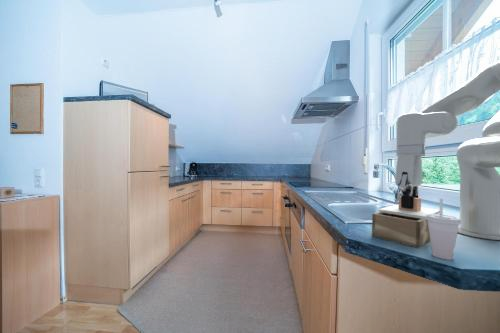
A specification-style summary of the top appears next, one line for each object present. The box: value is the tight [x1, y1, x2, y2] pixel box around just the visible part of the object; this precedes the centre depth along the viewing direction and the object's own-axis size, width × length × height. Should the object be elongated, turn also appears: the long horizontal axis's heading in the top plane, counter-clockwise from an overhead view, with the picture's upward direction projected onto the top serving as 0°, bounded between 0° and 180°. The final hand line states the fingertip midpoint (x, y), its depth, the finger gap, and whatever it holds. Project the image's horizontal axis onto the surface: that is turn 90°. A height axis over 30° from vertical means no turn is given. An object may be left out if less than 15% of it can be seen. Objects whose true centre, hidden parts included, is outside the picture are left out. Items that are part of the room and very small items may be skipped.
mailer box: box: [371, 211, 431, 249], centre depth 67 cm, size 16×12×7 cm
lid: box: [377, 196, 440, 219], centre depth 70 cm, size 16×12×5 cm
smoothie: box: [426, 198, 461, 261], centre depth 52 cm, size 6×6×14 cm
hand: (409, 206), depth 70 cm, fingers closed on lid, 4 cm apart
